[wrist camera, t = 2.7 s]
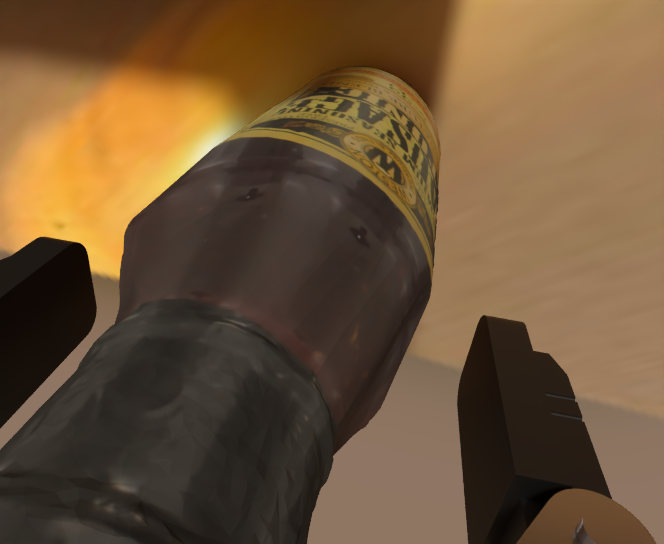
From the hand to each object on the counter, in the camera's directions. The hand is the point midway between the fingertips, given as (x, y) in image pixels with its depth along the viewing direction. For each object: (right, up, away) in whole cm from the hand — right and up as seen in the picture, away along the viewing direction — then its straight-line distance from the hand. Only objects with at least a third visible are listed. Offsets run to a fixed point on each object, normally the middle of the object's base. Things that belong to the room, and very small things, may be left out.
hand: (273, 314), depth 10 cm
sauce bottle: (+2, +7, +11) cm, 13 cm away
